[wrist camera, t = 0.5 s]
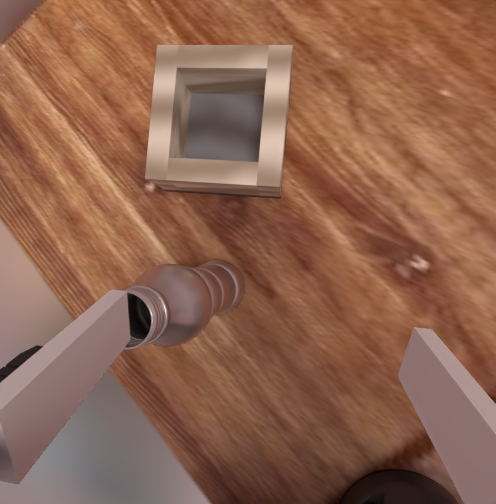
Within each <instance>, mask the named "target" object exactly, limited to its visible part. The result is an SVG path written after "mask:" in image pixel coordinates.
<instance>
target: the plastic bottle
mask: <svg viewBox="0 0 496 504" xmlns="http://www.w3.org/2000/svg"><path fill="white" fill-rule="evenodd" d="M244 288H245V285H244V280H243V277H242V275H241V273H240V272H239V270H238V269H237V268H236V267H234V266H233V265H231V264H229V263H227V262H225V261H221V260H213V261H208V262H205V263H203V264H201V265H200V266H198V267H196V268H191V267H187V266H183V265H176V264H163V265H158V266H155V267H153V268H151V269H149V270H148V271H146V272H145V273H143V274H142V275H141V276H140V277H139V278H137V279H136V281H135V282H134V283H133V285H132V287H129V288H127V289H124V290H120V291H127V299H128V313H129V327H130V341H129V342H128V344H127V345H126V346H125V348H124V349H123V350H131V349H135V348H139V347H141V346H143V345H145V344H149V343H152V344H154V345H158V346H177V345H181V344H185V343H187V342H189V341H191V340H192V339H193V338H195V337H196V336H197V335H198V334H199V333H200V332H201V331H202V330H203V329H204V327H205V326H206V325H207V323H208V322H209V321H210V319H211V318H212V317H213V316H215V315H221V314H225V313H228V312H230V311H232V310H233V309H234V308H236V307H237V305H238V304H239V303H240V301H241V299H242V297H243V294H244Z"/></svg>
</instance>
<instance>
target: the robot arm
mask: <svg viewBox="0 0 496 504" xmlns="http://www.w3.org/2000/svg"><path fill="white" fill-rule="evenodd" d="M129 341H130V327H129V313H128V299H127V291H120V290H112V289H111V290H110V291H109V292H108V293H107V294H105V295H104V296H103V297H102V298H101V299H99V300H98V301H97V302H96V303H95V304H93V305H92V306H91V307H90V308H89V309H87V310H86V311H85V312H84V313H83V314H82V315H80V316H79V317H78V318H77V319H76V320H74V321H73V322H72V323H71V324H70V325H69V326H67V327H66V328H65V329H64V330H62V331H61V332H60V333H59V334H58V335H57V336H55V337H54V338H53V339H52V340H51V341H49V342H48V343H47V344H46V345H45V346H38V345H37V346H35V347H33V348H31V349H29V350H27V351H25V352H23V353H21V354H19V355H18V356H17V357H15V358H14V359H13V360H12V361H10V362H9V363H8V364H7V365H6V367H3V368H1V369H0V481H3V482H9V483H15V484H19V483H20V482H21V480H22V479H23V478H24V477H25V475H26V474H27V472H29V470H30V469H31V468H32V466H33V465H34V464H35V462H36V461H37V460H38V459H39V457H40V456H41V455H42V453H43V452H44V451H45V450H46V448H47V447H48V446H49V444H50V443H51V442H52V440H53V439H54V438H55V437H56V435H57V434H58V433H59V432H60V430H61V429H62V428H63V426H64V425H65V424H66V422H67V421H68V420H69V419H70V417H71V416H72V415H73V413H74V412H75V411H76V409H77V408H78V407H79V405H80V404H81V403H82V402H83V401H84V399H85V398H86V397H87V395H88V394H89V393H90V391H91V390H92V389H93V388H94V386H95V385H96V384H97V382H98V381H99V380H100V379H101V377H102V376H103V375H104V373H105V372H106V371H107V370H108V368H109V367H110V366H111V364H112V363H113V362H114V361H115V359H116V358H117V357H118V355H119V354H120V353H121V352H122V350H123V349H124V348H125V346H126V345H127V344H128V342H129ZM398 378H399V380H400V382H401V384H402V386H403V388H404V390H405V391H406V393H407V395H408V397H409V399H410V401H411V403H412V405H413V407H414V409H415V411H416V412H417V414H418V416H419V418H420V420H421V422H422V424H423V426H424V428H425V430H426V432H427V433H428V435H429V437H430V439H431V441H432V443H433V445H434V447H435V449H436V451H437V453H438V454H439V456H440V458H441V460H442V462H443V464H444V466H445V468H446V470H447V472H448V474H449V475H450V477H451V479H452V481H453V483H454V485H455V487H456V489H457V491H458V493H459V495H460V496H461V498H462V500H463V502H464V504H496V404H495V403H494V402H493V401H492V399H491V398H490V397H489V396H488V395H487V394H486V392H485V391H484V390H483V389H482V388H481V387H480V385H479V384H478V383H477V382H476V381H475V379H474V378H473V377H472V376H471V375H470V374H469V372H468V371H467V370H466V369H465V368H464V367H463V365H462V364H461V363H460V362H459V361H458V359H457V358H456V357H455V356H454V355H453V354H452V352H451V351H450V350H449V349H448V348H447V347H446V345H445V344H444V343H443V342H442V341H441V340H440V338H439V337H438V336H437V335H436V334H435V332H434V331H433V330H432V329H425V328H417V327H414V328H413V331H412V334H411V337H410V340H409V343H408V346H407V349H406V352H405V355H404V358H403V361H402V364H401V367H400V370H399V373H398ZM340 504H458V503H457V501H456V500H455V499H454V498H453V497H452V496H451V495H450V493H449V492H447V491H446V490H445V489H444V488H443V487H442V486H440V485H439V484H437V483H436V482H434V481H432V480H431V479H429V478H427V477H424V476H422V475H419V474H416V473H413V472H408V471H401V470H389V471H382V472H377V473H374V474H371V475H369V476H367V477H365V478H363V479H361V480H360V481H358V482H357V483H356V484H355V485H353V486H352V487H351V488H350V489H349V491H348V492H347V493H346V494H345V496H344V497H343V499H342V501H341V503H340Z"/></svg>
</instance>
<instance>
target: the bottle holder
mask: <svg viewBox="0 0 496 504" xmlns="http://www.w3.org/2000/svg"><path fill="white" fill-rule="evenodd" d="M292 49H293V45H157V54H156V65H155V76H154V87H153V97H152V108H151V119H150V130H149V141H148V152H147V163H146V174H145V179H146V180H148V181H150V182H152V183H153V184H155V185H157V186H159V187H161V188H162V189H164V190H166V191H174V192H190V193H205V194H220V195H236V196H251V197H267V198H281V188H282V177H283V166H284V154H285V143H286V132H287V121H288V110H289V98H290V87H291V72H292Z"/></svg>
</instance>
